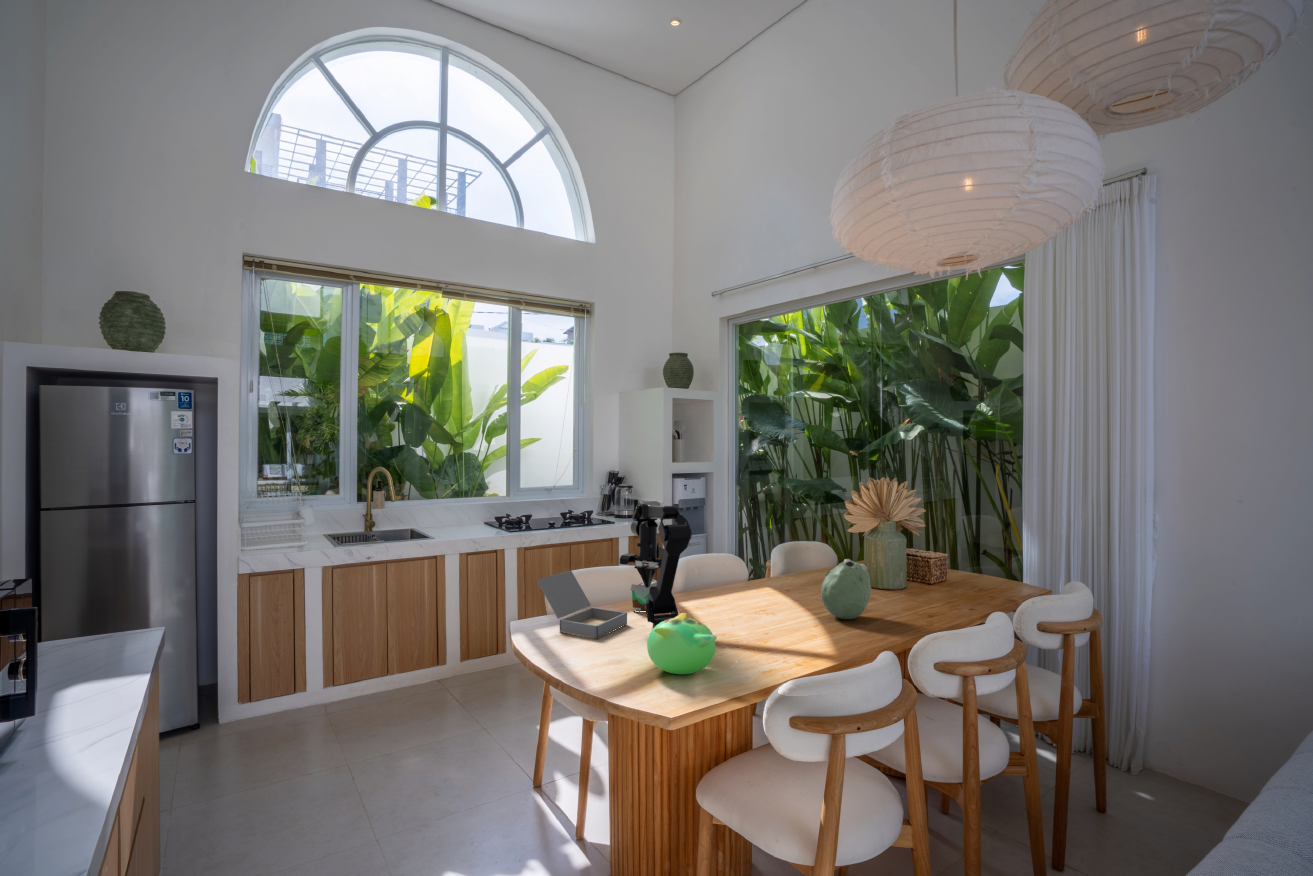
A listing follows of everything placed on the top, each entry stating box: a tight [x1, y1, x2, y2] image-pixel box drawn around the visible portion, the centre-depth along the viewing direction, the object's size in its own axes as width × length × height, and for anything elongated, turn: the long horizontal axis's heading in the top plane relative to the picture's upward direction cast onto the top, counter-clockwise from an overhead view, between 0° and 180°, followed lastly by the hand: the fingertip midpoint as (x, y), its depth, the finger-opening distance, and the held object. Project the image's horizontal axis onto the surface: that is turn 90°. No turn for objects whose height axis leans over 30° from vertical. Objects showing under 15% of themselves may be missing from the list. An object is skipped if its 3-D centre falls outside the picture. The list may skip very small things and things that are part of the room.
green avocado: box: [820, 558, 872, 620], centre depth 220 cm, size 16×19×20 cm
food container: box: [630, 578, 658, 611], centre depth 228 cm, size 12×6×10 cm, turn 143°
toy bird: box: [646, 612, 717, 675], centre depth 167 cm, size 18×17×15 cm
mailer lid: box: [536, 569, 592, 620], centre depth 211 cm, size 14×18×1 cm
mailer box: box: [559, 606, 628, 640], centre depth 205 cm, size 14×18×4 cm
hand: (647, 587), depth 207 cm, fingers closed
